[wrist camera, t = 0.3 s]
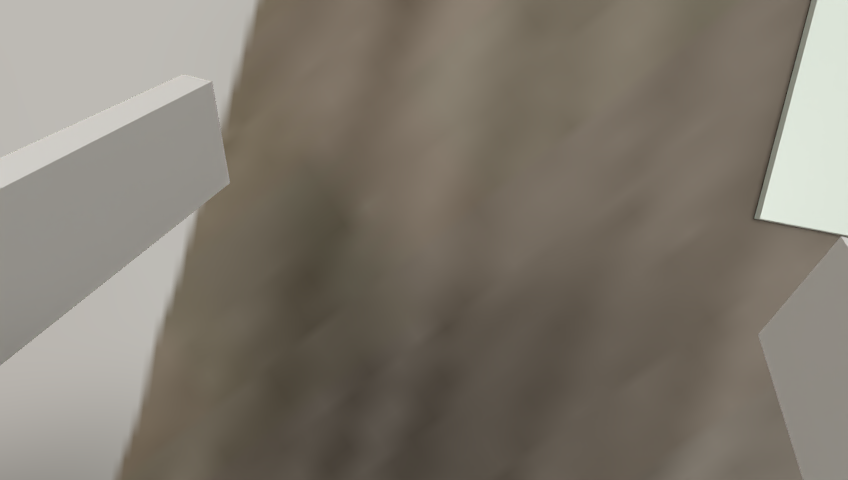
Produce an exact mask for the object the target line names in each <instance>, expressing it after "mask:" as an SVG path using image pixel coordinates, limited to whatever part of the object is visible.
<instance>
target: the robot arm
mask: <svg viewBox="0 0 848 480" xmlns="http://www.w3.org/2000/svg"><path fill="white" fill-rule="evenodd" d="M229 183H230V180H229V175H228V169H227V163H226V158H225V152H224V146H223V141H222V135H221V129H220V124H219V118H218V113H217V107H216V101H215V95H214V90H213V85H212V81H209V80H205V79H201V78H197V77H193V76H189V75H185V74H183V75H180V76H178V77H176V78H174V79H172V80H169V81H167V82H165V83H163V84H161V85H159V86H156V87H154V88H152V89H150V90H147V91H145V92H143V93H141V94H139V95H137V96H135V97H132V98H130V99H128V100H126V101H123V102H121V103H119V104H117V105H115V106H113V107H110V108H108V109H106V110H104V111H102V112H99V113H97V114H95V115H93V116H91V117H89V118H86V119H84V120H82V121H80V122H78V123H75V124H73V125H71V126H69V127H67V128H65V129H62V130H60V131H58V132H56V133H54V134H51V135H49V136H47V137H45V138H43V139H41V140H38V141H36V142H34V143H32V144H30V145H28V146H25V147H23V148H21V149H19V150H16V151H14V152H12V153H10V154H8V155H5V156H3V157H1V158H0V365H1V364H3V363H4V362H5V361H6V360H8V359H9V358H10V357H11V356H13V355H14V354H15V353H16V352H18V351H19V350H20V349H21V348H23V347H24V346H25V345H26V344H28V343H29V342H30V341H32V340H33V339H34V338H35V337H36V336H38V335H39V334H40V333H42V332H43V331H44V330H45V329H46V328H48V327H49V326H50V325H52V324H53V323H54V322H55V321H57V320H58V319H59V318H60V317H62V316H63V315H64V314H66V313H67V312H68V311H69V310H71V309H72V308H73V307H74V306H76V305H77V304H78V303H79V302H81V301H82V300H83V299H84V298H85V297H87V296H88V295H89V294H91V293H92V292H93V291H95V290H96V289H97V288H98V287H99V286H101V285H102V284H103V283H105V282H106V281H107V280H108V279H110V278H111V277H112V276H113V275H115V274H116V273H117V272H118V271H120V270H121V269H122V268H123V267H125V266H126V265H127V264H128V263H130V262H131V261H132V260H134V259H135V258H136V257H137V256H139V255H140V254H141V253H142V252H143V251H145V250H146V249H147V248H149V247H150V246H151V245H152V244H154V243H155V242H156V241H157V240H159V239H160V238H161V237H162V236H164V235H165V234H166V233H168V232H169V231H170V230H171V229H173V228H174V227H175V226H176V225H178V224H179V223H180V222H181V221H183V220H184V219H185V218H186V217H188V216H189V215H190V214H191V213H193V212H194V211H195V210H196V209H198V208H199V207H200V206H202V205H203V204H204V203H205V202H207V201H208V200H209V199H210V198H212V197H213V196H214V195H215V194H217V193H218V192H219V191H220V190H222V189H223V188H224V187H225V186H227V185H228V184H229ZM758 335H759V339H760V342H761V345H762V348H763V352H764V355H765V358H766V361H767V365H768V368H769V371H770V374H771V378H772V381H773V384H774V387H775V391H776V394H777V397H778V400H779V403H780V407H781V410H782V413H783V416H784V420H785V423H786V426H787V429H788V433H789V436H790V439H791V442H792V446H793V449H794V452H795V455H796V459H797V462H798V465H799V468H800V472H801V475H802V478H803V480H848V238H846V237H842V236H841V237H840V238H839V239H838V241H837V242H836V243H835V244H834V245H833V247H832V248H831V249H830V250H829V251H828V252H827V254H826V255H825V256H824V257H823V258H822V260H821V261H820V262H819V263H818V264H817V266H816V267H815V268H814V269H813V270H812V271H811V273H810V274H809V275H808V276H807V277H806V279H805V280H804V281H803V282H802V283H801V284H800V286H799V287H798V288H797V289H796V290H795V292H794V293H793V294H792V295H791V296H790V298H789V299H788V300H787V301H786V302H785V303H784V305H783V306H782V307H781V308H780V309H779V311H778V312H777V313H776V314H775V315H774V316H773V318H772V319H771V320H770V321H769V322H768V324H767V325H766V326H765V327H764V328H763V329H762V331H761V332H760V333H759V334H758Z"/></svg>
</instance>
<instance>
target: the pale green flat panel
mask: <svg viewBox="0 0 848 480" xmlns="http://www.w3.org/2000/svg"><path fill="white" fill-rule="evenodd" d="M754 219H758V220H763V221H768V222H773V223H778V224H784V225H789V226H794V227H799V228H805V229H810V230H815V231H820V232H826V233H831V234H836V235H841V236H847V237H848V0H811V4H810V8H809V11H808V15H807V19H806V23H805V27H804V30H803V34H802V38H801V42H800V46H799V50H798V53H797V57H796V61H795V65H794V69H793V72H792V76H791V80H790V84H789V88H788V91H787V95H786V99H785V103H784V107H783V111H782V114H781V118H780V122H779V126H778V130H777V133H776V137H775V141H774V145H773V149H772V152H771V156H770V160H769V164H768V168H767V172H766V175H765V179H764V183H763V187H762V191H761V194H760V198H759V202H758V206H757V210H756V214H755V217H754Z"/></svg>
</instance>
